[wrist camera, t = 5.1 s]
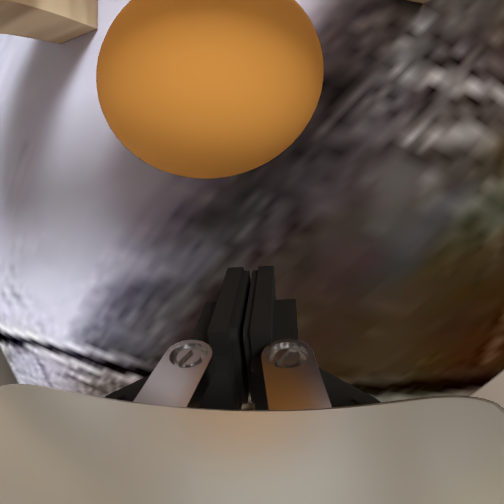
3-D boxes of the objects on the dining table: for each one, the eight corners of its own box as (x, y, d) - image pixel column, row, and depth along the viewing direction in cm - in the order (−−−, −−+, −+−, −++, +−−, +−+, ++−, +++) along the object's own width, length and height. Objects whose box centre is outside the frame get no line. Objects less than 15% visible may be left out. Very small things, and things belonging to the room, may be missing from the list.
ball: (379, 157, 5) (318, 164, 11) (311, -85, 4) (290, 16, 10) (63, 211, 6) (153, 190, 11) (56, -26, 4) (135, 45, 10)
